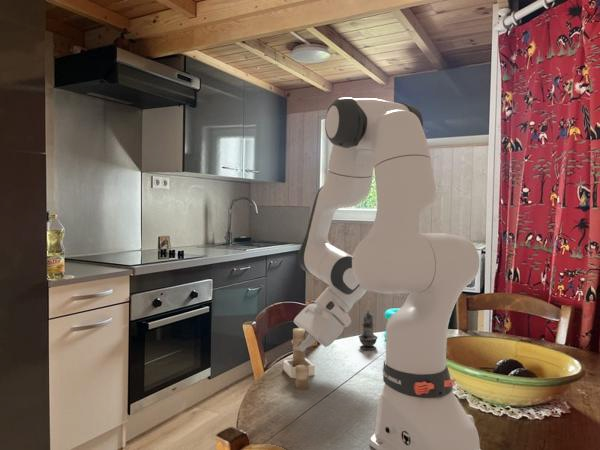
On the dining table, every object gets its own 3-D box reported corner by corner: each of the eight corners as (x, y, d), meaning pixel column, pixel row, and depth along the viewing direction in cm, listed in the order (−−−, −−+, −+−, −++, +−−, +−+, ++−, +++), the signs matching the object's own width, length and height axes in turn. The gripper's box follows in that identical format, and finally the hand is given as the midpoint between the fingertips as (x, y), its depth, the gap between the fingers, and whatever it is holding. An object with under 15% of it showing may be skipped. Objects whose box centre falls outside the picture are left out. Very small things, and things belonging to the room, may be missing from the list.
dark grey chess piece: (376, 345, 143) (377, 308, 142) (378, 351, 137) (378, 312, 136) (358, 345, 143) (358, 308, 143) (358, 350, 137) (359, 312, 137)
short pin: (310, 388, 108) (310, 368, 108) (298, 390, 107) (298, 369, 107) (305, 383, 111) (305, 364, 111) (293, 385, 110) (293, 365, 110)
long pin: (306, 368, 118) (306, 330, 118) (295, 369, 117) (295, 331, 116) (302, 364, 121) (302, 327, 121) (291, 365, 120) (291, 328, 119)
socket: (314, 375, 117) (314, 365, 117) (291, 378, 115) (291, 368, 115) (305, 366, 123) (305, 357, 123) (283, 369, 121) (283, 360, 121)
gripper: (309, 293, 130) (277, 329, 127) (338, 308, 111) (301, 350, 108) (323, 307, 132) (292, 343, 129) (354, 324, 113) (318, 366, 110)
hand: (296, 347), depth 118 cm, fingers closed on long pin, 3 cm apart
